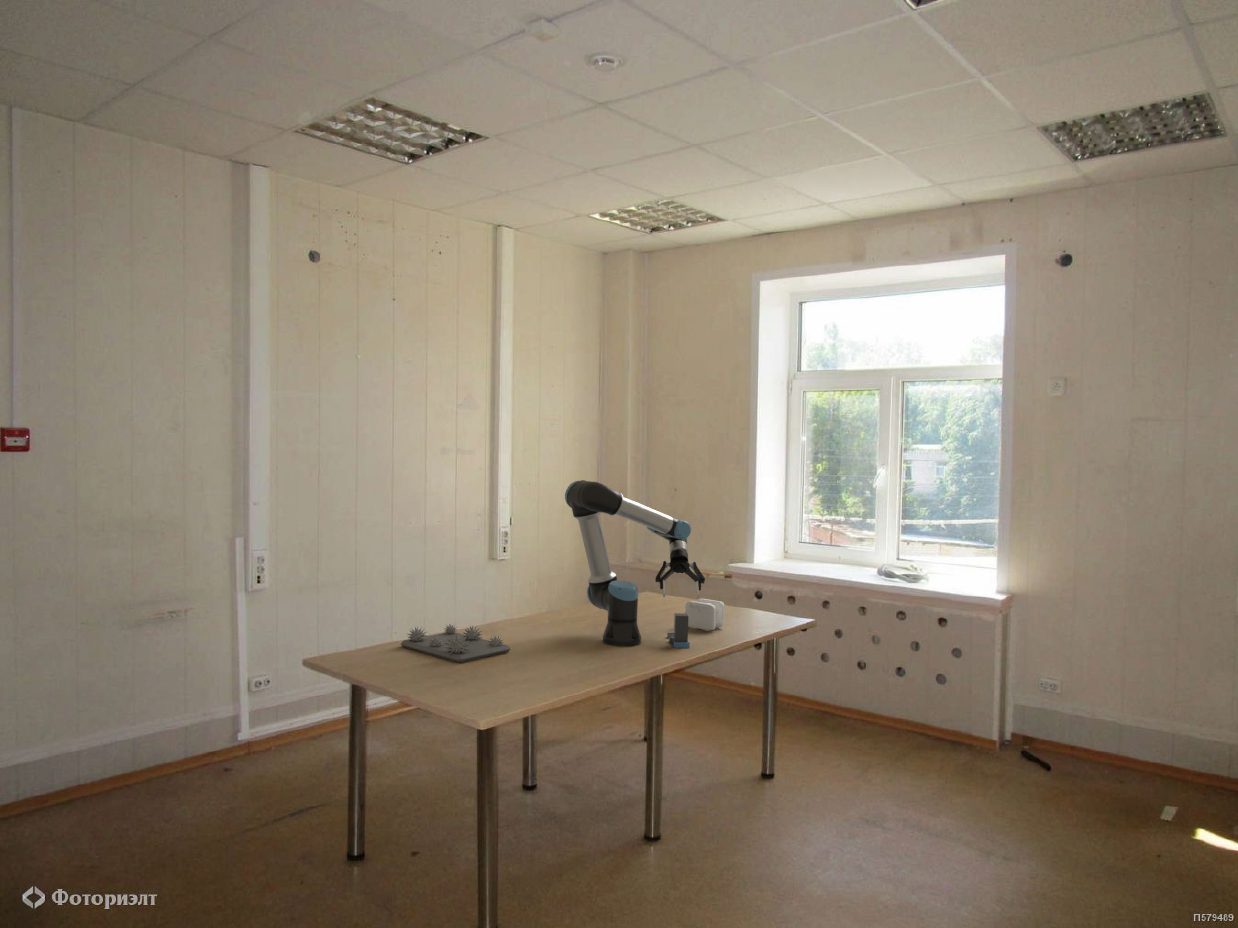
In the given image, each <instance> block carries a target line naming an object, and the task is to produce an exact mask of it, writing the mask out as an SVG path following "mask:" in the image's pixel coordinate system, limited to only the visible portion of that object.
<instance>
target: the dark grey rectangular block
mask: <svg viewBox="0 0 1238 928" xmlns="http://www.w3.org/2000/svg"><path fill="white" fill-rule="evenodd" d="M673 618H674V619H673V620H674V621H673V633H674V642H689V636H688V635H689V626H688V614H685V613H674V617H673Z"/></svg>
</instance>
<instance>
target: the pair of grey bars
mask: <svg viewBox="0 0 1238 928" xmlns="http://www.w3.org/2000/svg"><path fill="white" fill-rule="evenodd" d="M672 637H674V632H671V631H669V632H667V637H666V638H668V642H669V643H672Z"/></svg>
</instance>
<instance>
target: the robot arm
mask: <svg viewBox="0 0 1238 928" xmlns="http://www.w3.org/2000/svg"><path fill="white" fill-rule="evenodd" d="M564 499H565V503H566V504H567V506H568V507H569V508H571V511H572V516H573V518H574V519H575V520H577V521H578V525H579V529H580V532H581V537H582V542H583V547H584V551H585V555H586V558H587V565H588V568H589V569H588V570H589V574H590V577H589V578H588V580H587V581H588V587H587V589H586V596H587V598H588V601H589V602H590V603H591V605H593V606H594V607H596V608H598V609H600V610H604V611H607V623H606V626H605V629H604V631H603V634H602V642H603V643H604V644H606V645H610V646H614V647H615V646H617V647H632V646H637V645H640V644H641V643H642V637H641V631H640V629H639V625H638V608H639V607H638V602H639V589H638V586H637V585H636V584H635V583H633V582H631V581H626V580H619V579H618V576H617V574H616V573H615V572H614V571H612V568H611V563H610V559H609V555H608V554H609V553H608V550H607V545H606V541H605V536H604V532H603V526H602V524H601V518H600V514H601V513H603V514H608V515H610V516H615V515H617V516H618V517H619V516H620V517H621V518H624V519H627V520H629V521H631V522H634V523H637V524H639V525H642V526H644V527H646V528H647V530H648V531H650V532H651V533H654V534H656V535H657V536H659V537H661V538H663V539H665V540H667V541H668V543H669V562H667V561H666V560H664V561H663V562H662V566H661V567H660V569H659V571H658V573H657V574H656V576H655V580H654V581H655V583H659V589H660V590H662V598H666V580H667V579H668V578H670V576H672V575H673V574H674V573H675V574H685V575H687V576H688V577H689V578H690V579H691V580H692V581H694V582H695V596H696V598H695V599H700V598H699V597H700V591H701V590H702V584H705V581H706V578H705V576H704V575H703V573H702V572H701V570H700V569H699V568H698V566H697V563H696V561H693V562H692V563H690V562H689V553H688V538H689V536H690V535H691V531H692V526H691V524H690V523H689V522H688V521H685V520H682V519H677V518H675V517H673V516H670V515H668V514H666V513H663V512H661V511H659V510H656V509H653V508H651V507H649V506H646V505H645V504H642V503H640V502H637V501H634V500H632V499H629V498H627V497H624V495H623V493H621V492H620V491H618V490H616V489H613V488H611V487H609V486H607V485H605V484H603V483H601V482H599V481H591V480H585V479H582V480H581V479H580V480H575V481H573V482H571V483H570V484H569V485H568V486H567V488H566V490H565V493H564ZM668 568H669V569H668ZM666 569H668V570H667V571H666V572H665V570H666ZM692 570H693V571H692ZM664 572H665V573H664Z"/></svg>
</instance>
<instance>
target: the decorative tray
mask: <svg viewBox="0 0 1238 928" xmlns="http://www.w3.org/2000/svg"><path fill="white" fill-rule="evenodd" d="M477 627H478V625H476V626H475V628H474V625H472V626H471V625H469V628H468V627H467V626H466V629H465V628H464V631H465V632H462V633H459V632H458V631H457V630H458V626H456V625H454V624H451V623H449V624H446V625H445V628H444V632H442V633H437V634H433V635H427V633H428V631H425V628H423V629H422V626H420V628H419V626H414V629H413V628H411V627H410V629H411V630H410V629H409V632H410V633H407V635H408V639H405V640H404V639H403V640H402V641H401V643H400V646H401V647H403V648H406V649H409V650H413V651H417V652H419V653H423V654H427V655H431V656H434V657H438V658H441V659H445V660H448V661H453V662H456V663H458V664H460V663H465V662H468V661H474V660H478V659H482V658H486V657H490V656H491V657H493V656H495V655H500V654H505V653H509V651H510V650H511V647H510V646H509V645H508V644H504V639H502V637H500V635H498V636H497V635H494V636H493V637H492V636H490V638H489V640H487V639H484V638H483V637H481V636H483V633H482V631H483V630H480V631H479V629H480V628H477ZM424 631H425V632H424Z"/></svg>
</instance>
